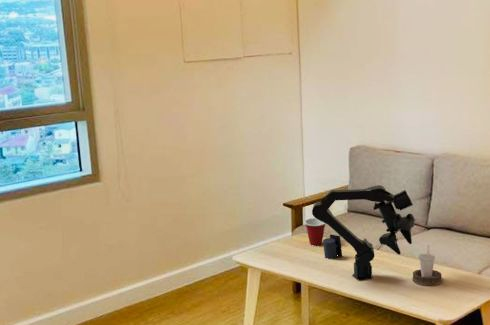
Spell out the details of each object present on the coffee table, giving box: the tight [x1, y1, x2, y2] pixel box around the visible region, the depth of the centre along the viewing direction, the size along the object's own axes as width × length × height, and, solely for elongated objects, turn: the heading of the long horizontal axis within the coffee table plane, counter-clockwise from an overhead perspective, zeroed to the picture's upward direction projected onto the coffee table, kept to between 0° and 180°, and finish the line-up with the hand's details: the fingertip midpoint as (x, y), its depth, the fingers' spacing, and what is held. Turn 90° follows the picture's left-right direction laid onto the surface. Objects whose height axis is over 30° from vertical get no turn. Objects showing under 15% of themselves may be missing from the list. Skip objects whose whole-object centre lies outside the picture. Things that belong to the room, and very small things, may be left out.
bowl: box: [412, 268, 443, 287], centre depth 255 cm, size 12×12×3 cm
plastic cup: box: [304, 217, 327, 246], centre depth 310 cm, size 11×11×12 cm
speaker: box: [322, 234, 343, 260], centre depth 289 cm, size 8×6×10 cm
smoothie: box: [418, 245, 436, 278], centre depth 254 cm, size 6×6×14 cm
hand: (405, 249), depth 257 cm, fingers open, 9 cm apart
